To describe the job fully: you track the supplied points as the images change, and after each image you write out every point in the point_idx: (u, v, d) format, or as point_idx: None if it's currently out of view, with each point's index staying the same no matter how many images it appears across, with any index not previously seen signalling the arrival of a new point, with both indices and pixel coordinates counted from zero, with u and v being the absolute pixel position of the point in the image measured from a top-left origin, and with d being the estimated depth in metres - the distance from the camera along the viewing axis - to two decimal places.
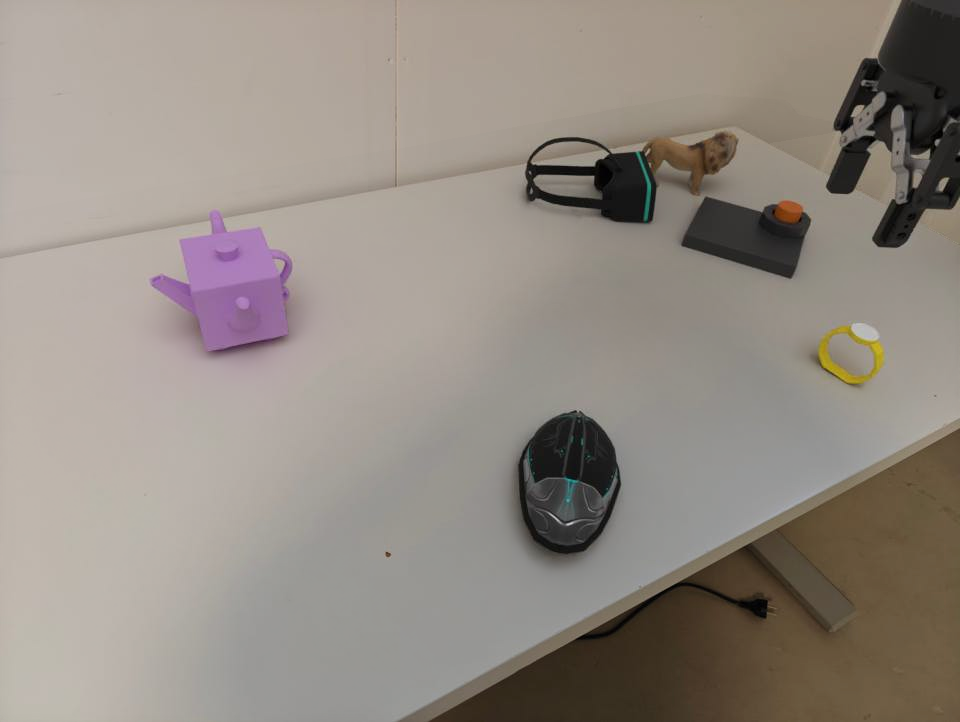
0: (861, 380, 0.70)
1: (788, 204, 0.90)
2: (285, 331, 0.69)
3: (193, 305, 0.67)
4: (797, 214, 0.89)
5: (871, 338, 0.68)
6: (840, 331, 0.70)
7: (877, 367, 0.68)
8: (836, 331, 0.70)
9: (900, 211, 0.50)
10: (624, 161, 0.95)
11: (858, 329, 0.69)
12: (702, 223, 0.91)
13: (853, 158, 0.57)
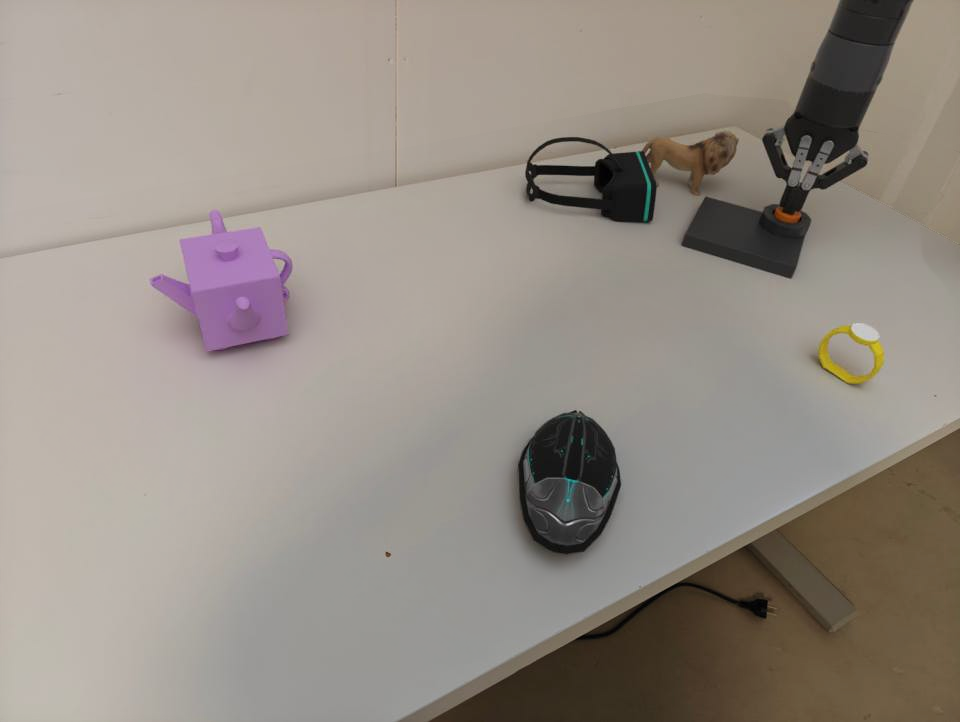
0: (861, 380, 0.70)
1: None
2: (285, 331, 0.69)
3: (193, 305, 0.67)
4: (794, 219, 0.89)
5: (871, 338, 0.68)
6: (840, 331, 0.70)
7: (877, 367, 0.68)
8: (836, 331, 0.70)
9: (804, 193, 0.88)
10: (624, 161, 0.95)
11: (858, 329, 0.69)
12: (702, 223, 0.91)
13: None
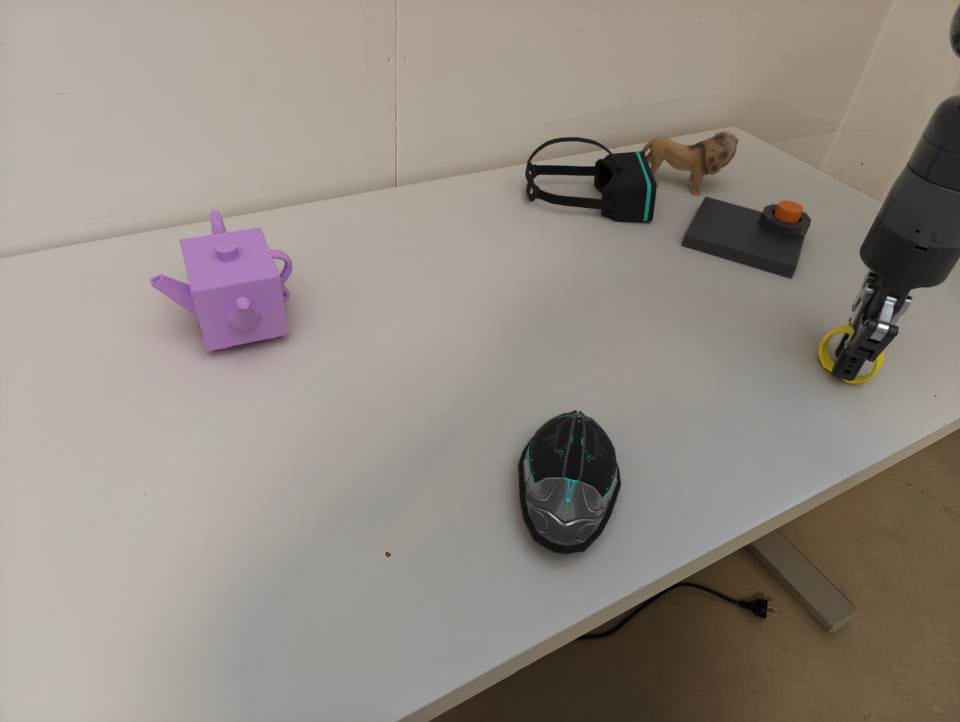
0: (861, 380, 0.70)
1: (788, 204, 0.90)
2: (285, 331, 0.69)
3: (193, 305, 0.67)
4: (797, 214, 0.89)
5: None
6: (840, 331, 0.70)
7: (877, 367, 0.68)
8: (836, 331, 0.70)
9: None
10: (624, 161, 0.95)
11: None
12: (702, 223, 0.91)
13: None
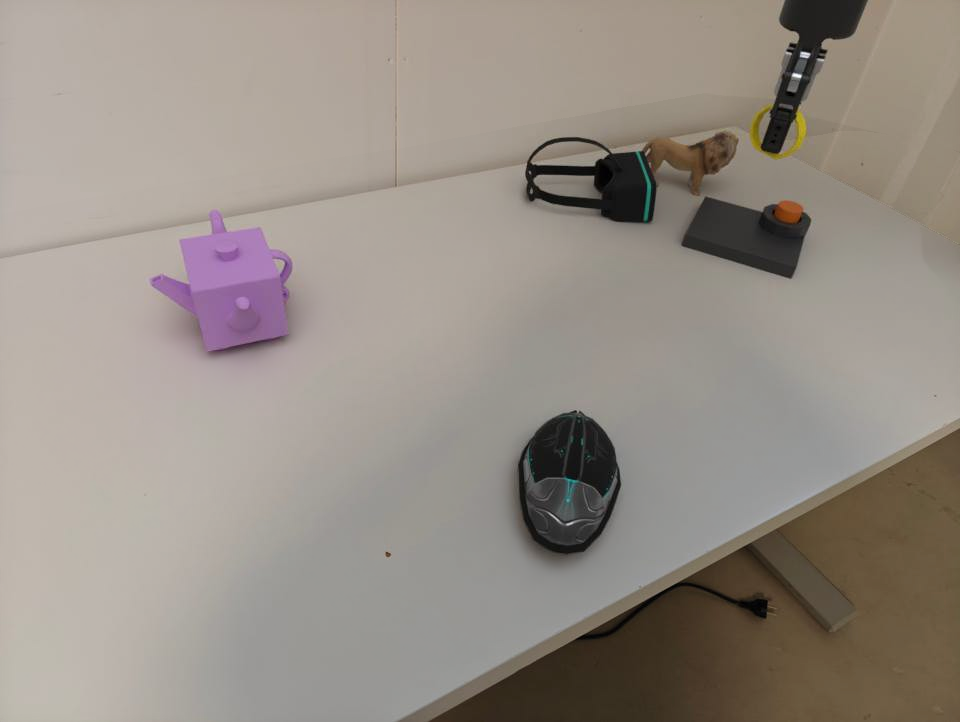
0: (787, 153, 0.77)
1: (788, 204, 0.90)
2: (285, 331, 0.69)
3: (193, 305, 0.67)
4: (797, 214, 0.89)
5: None
6: (767, 107, 0.77)
7: (799, 135, 0.76)
8: (764, 108, 0.77)
9: None
10: (624, 161, 0.95)
11: None
12: (702, 223, 0.91)
13: None
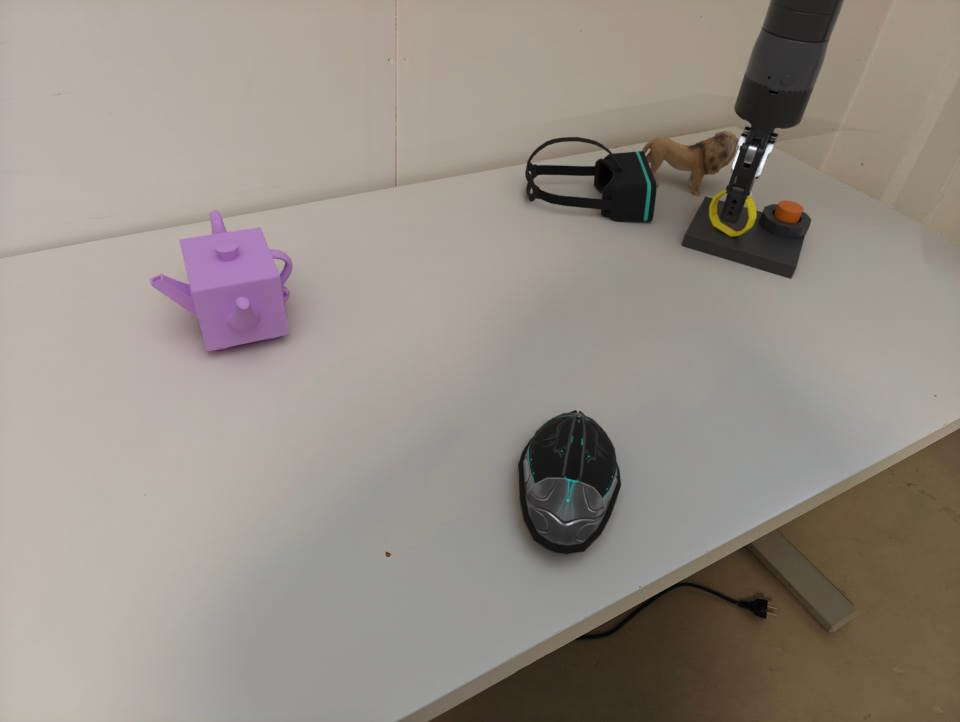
0: (740, 232, 0.87)
1: (788, 204, 0.90)
2: (285, 331, 0.69)
3: (193, 305, 0.67)
4: (797, 214, 0.89)
5: None
6: (723, 192, 0.87)
7: (750, 218, 0.86)
8: (720, 193, 0.87)
9: None
10: (624, 161, 0.95)
11: None
12: (702, 223, 0.91)
13: None
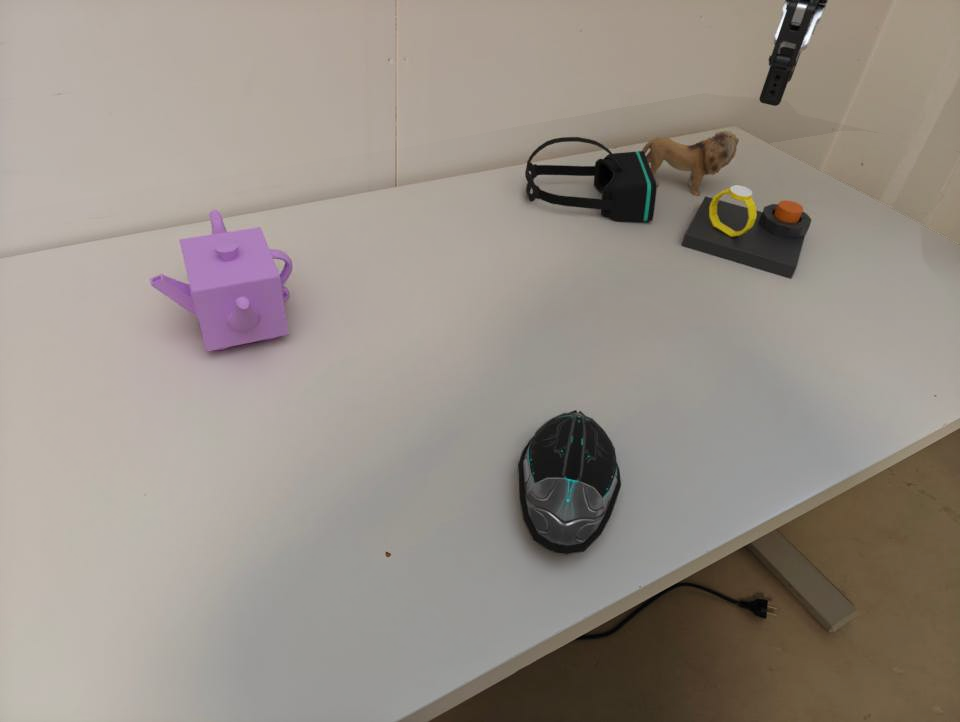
0: (740, 232, 0.87)
1: (788, 204, 0.90)
2: (285, 331, 0.69)
3: (193, 305, 0.67)
4: (797, 214, 0.89)
5: (745, 194, 0.85)
6: (723, 192, 0.87)
7: (750, 218, 0.86)
8: (720, 193, 0.87)
9: None
10: (624, 161, 0.95)
11: (736, 189, 0.86)
12: (702, 223, 0.91)
13: None
